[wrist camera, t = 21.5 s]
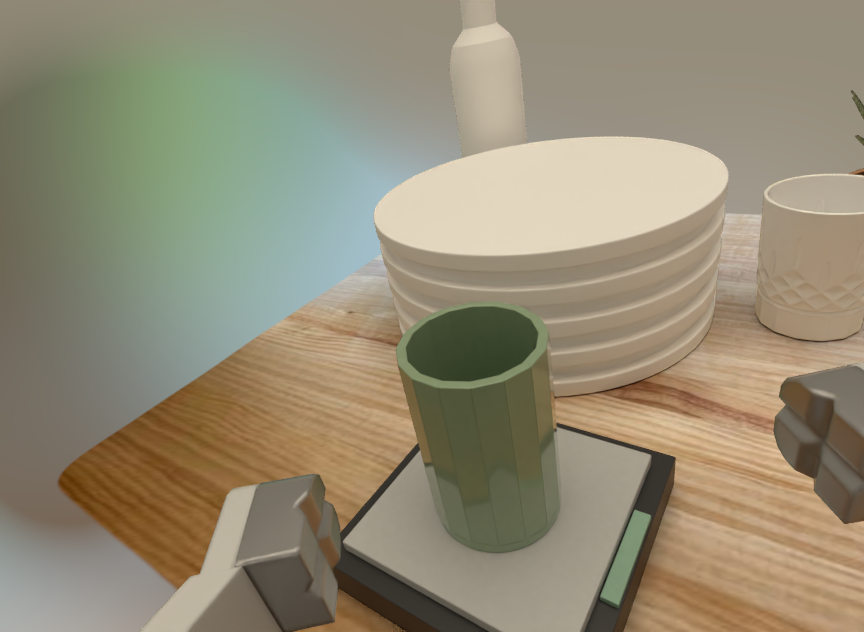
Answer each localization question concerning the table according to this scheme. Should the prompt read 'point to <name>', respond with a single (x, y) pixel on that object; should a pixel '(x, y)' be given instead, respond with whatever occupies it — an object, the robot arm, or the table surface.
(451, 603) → the scale
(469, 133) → the bottle
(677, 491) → the table surface
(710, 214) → the plate stack
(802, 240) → the white cup
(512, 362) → the tumbler
